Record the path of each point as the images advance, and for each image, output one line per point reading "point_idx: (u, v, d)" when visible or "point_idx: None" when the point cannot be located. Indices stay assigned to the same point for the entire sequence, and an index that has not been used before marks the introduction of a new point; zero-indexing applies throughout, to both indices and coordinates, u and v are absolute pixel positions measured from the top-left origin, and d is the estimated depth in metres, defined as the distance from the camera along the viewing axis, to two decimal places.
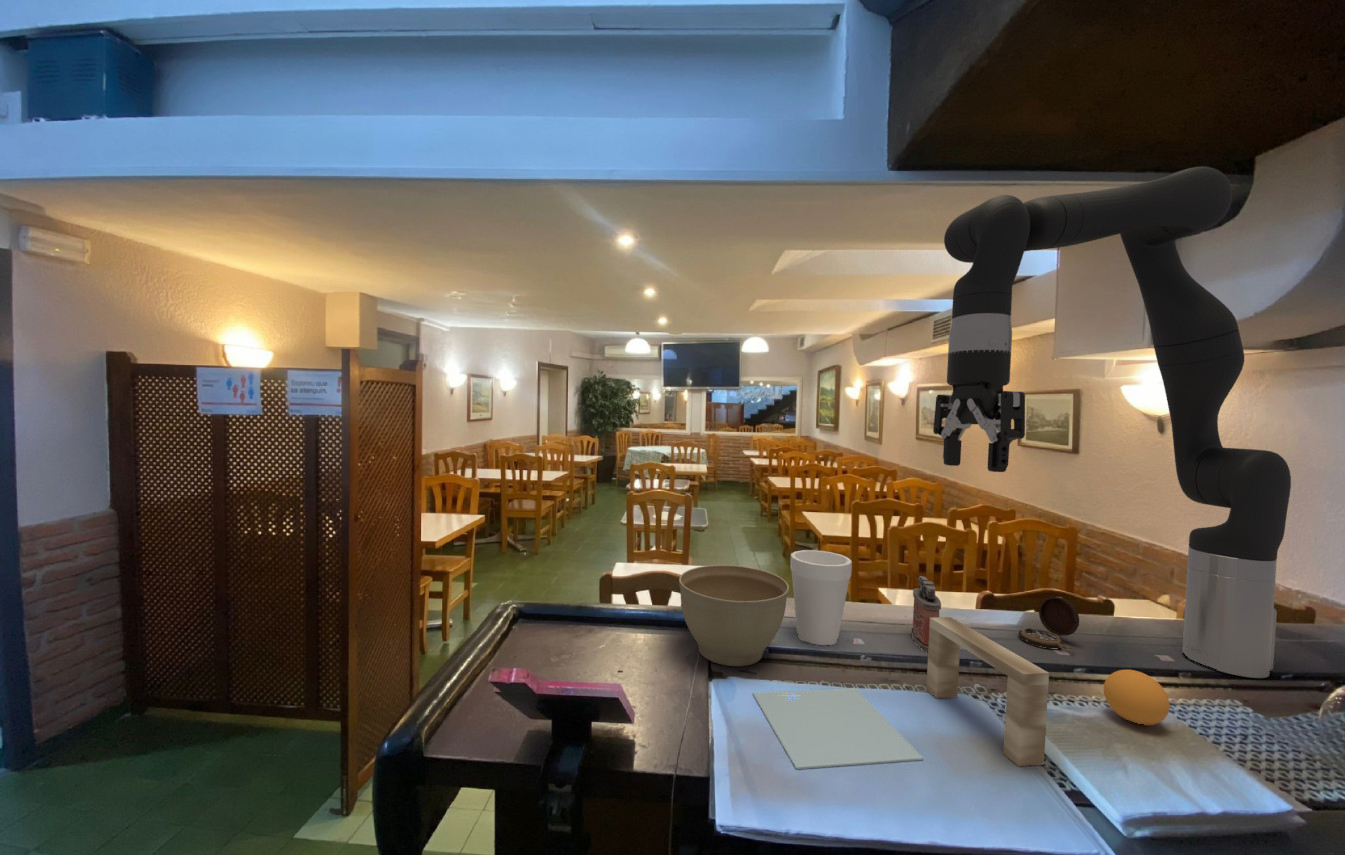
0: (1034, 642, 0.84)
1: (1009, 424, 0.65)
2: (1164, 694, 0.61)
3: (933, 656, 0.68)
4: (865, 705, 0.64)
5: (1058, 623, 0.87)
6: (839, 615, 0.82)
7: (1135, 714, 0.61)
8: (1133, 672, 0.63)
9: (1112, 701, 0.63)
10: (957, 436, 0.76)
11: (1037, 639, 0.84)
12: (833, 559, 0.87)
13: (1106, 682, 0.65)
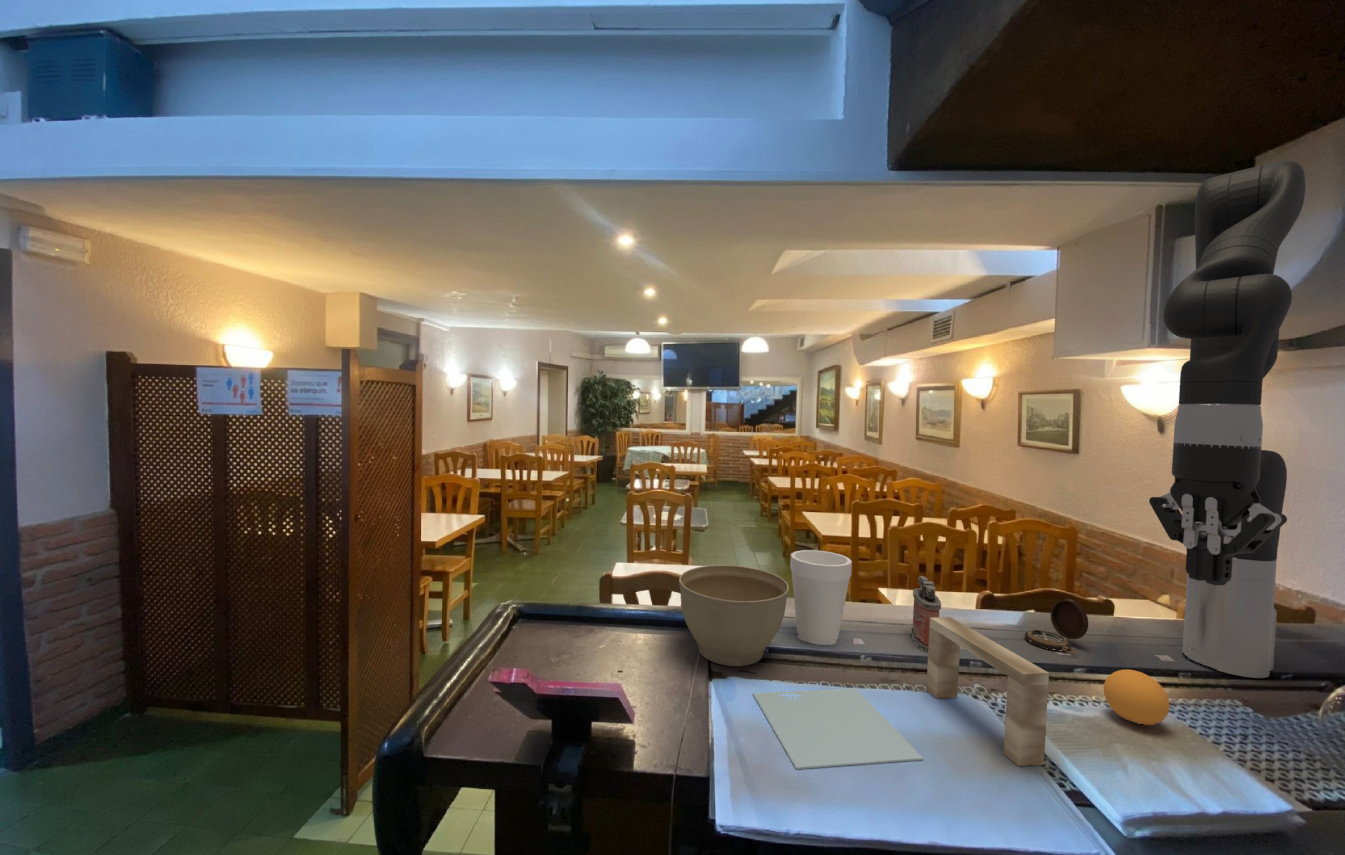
0: (1037, 643, 0.84)
1: (1246, 545, 0.60)
2: (1164, 694, 0.61)
3: (933, 656, 0.68)
4: (865, 705, 0.64)
5: (1069, 626, 0.86)
6: (839, 615, 0.82)
7: (1135, 714, 0.61)
8: (1133, 672, 0.63)
9: (1112, 701, 0.63)
10: (1205, 545, 0.65)
11: (1041, 640, 0.84)
12: (833, 559, 0.87)
13: (1106, 682, 0.65)
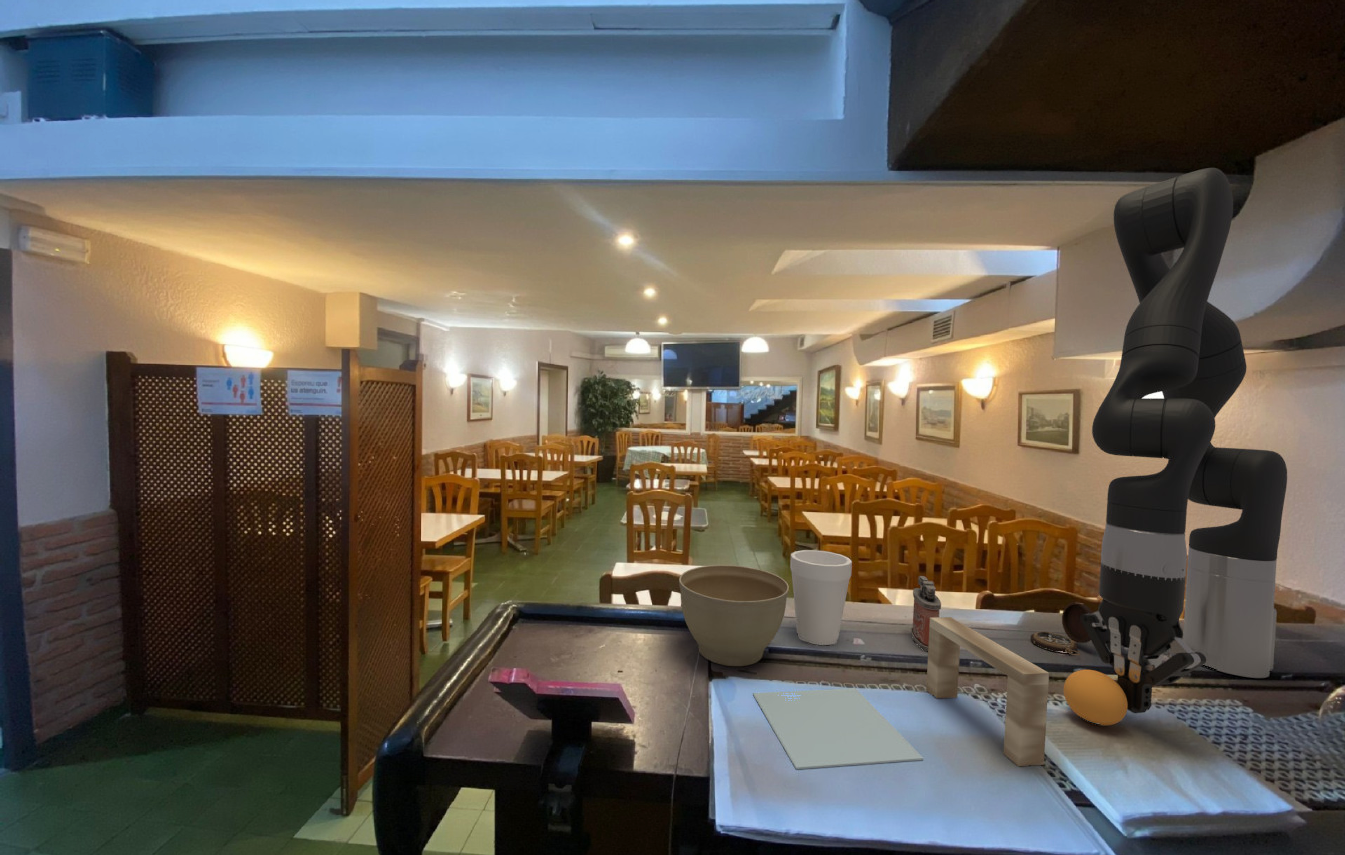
0: (1040, 644, 0.84)
1: (1163, 679, 0.58)
2: (1103, 694, 0.61)
3: (933, 656, 0.68)
4: (865, 705, 0.64)
5: (1078, 629, 0.85)
6: (839, 615, 0.82)
7: (1112, 724, 0.61)
8: (1071, 694, 0.63)
9: None
10: None
11: (1044, 641, 0.84)
12: (833, 559, 0.87)
13: None
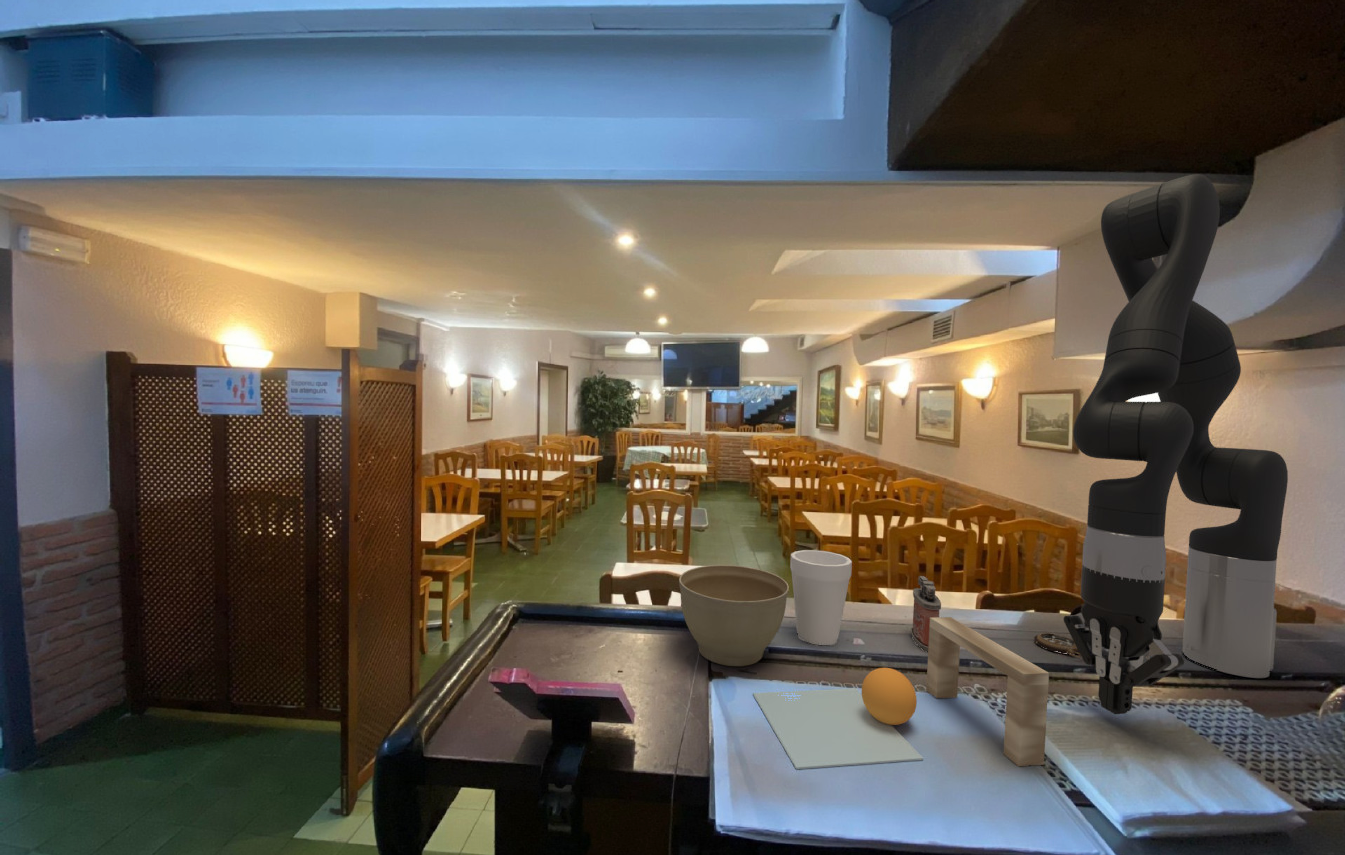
0: (1042, 644, 0.83)
1: (1142, 681, 0.59)
2: (893, 722, 0.59)
3: (933, 656, 0.68)
4: None
5: None
6: (839, 615, 0.82)
7: (909, 689, 0.60)
8: None
9: None
10: None
11: (1046, 642, 0.83)
12: (833, 559, 0.87)
13: None
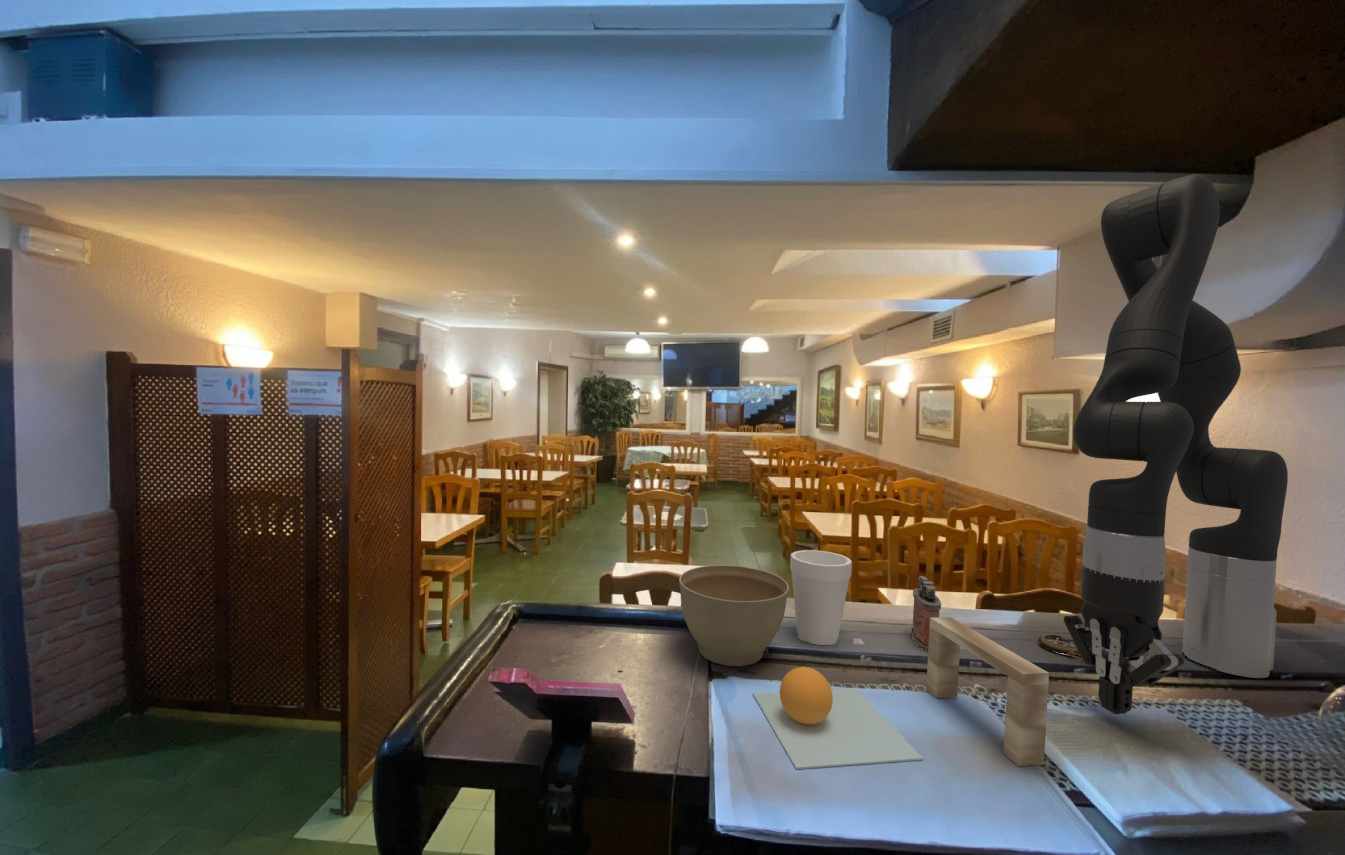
0: (1044, 645, 0.83)
1: (1142, 681, 0.59)
2: (814, 689, 0.59)
3: (933, 656, 0.68)
4: (865, 705, 0.64)
5: None
6: (839, 615, 0.82)
7: (801, 721, 0.59)
8: (789, 676, 0.61)
9: None
10: None
11: (1048, 643, 0.83)
12: (833, 559, 0.87)
13: None
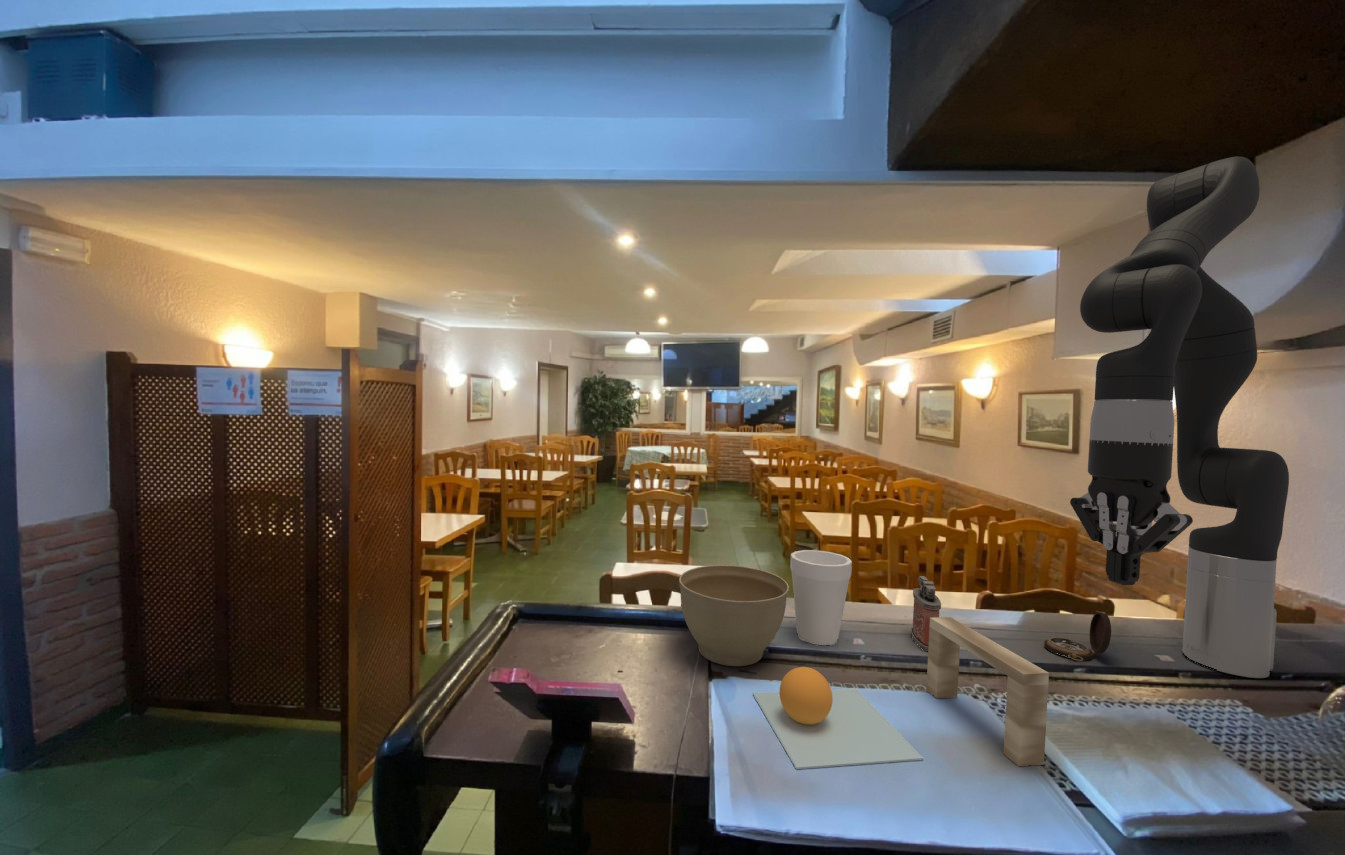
0: (1048, 646, 0.83)
1: (1150, 545, 0.59)
2: (814, 689, 0.59)
3: (933, 656, 0.68)
4: (865, 705, 0.64)
5: (1100, 640, 0.81)
6: (839, 615, 0.82)
7: (801, 722, 0.59)
8: (788, 676, 0.61)
9: None
10: None
11: (1052, 644, 0.82)
12: (833, 559, 0.87)
13: None
